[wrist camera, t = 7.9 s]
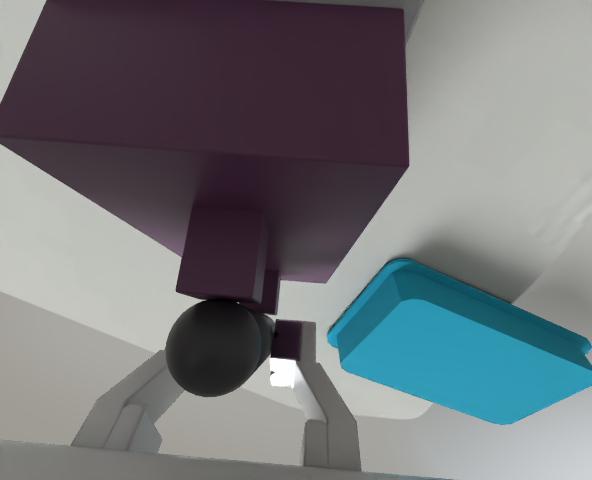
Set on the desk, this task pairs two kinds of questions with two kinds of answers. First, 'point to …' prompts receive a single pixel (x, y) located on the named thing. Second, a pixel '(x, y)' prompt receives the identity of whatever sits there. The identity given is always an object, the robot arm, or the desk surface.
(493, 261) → the desk surface
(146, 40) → the iron
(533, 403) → the blue shallow tray
